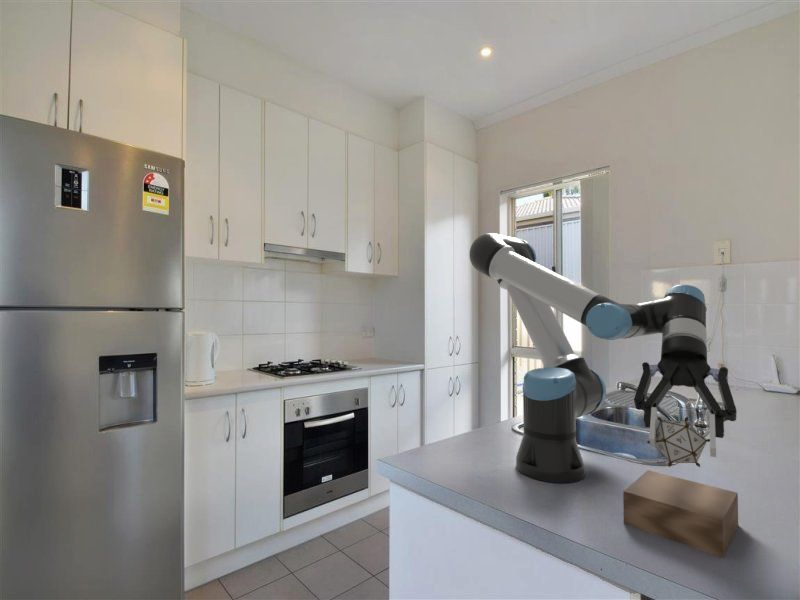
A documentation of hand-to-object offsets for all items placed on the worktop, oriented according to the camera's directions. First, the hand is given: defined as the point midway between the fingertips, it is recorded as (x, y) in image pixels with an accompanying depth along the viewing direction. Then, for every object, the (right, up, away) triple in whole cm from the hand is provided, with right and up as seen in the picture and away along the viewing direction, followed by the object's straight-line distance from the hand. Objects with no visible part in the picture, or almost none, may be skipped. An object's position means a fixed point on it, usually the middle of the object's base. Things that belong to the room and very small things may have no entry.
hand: (681, 447), depth 70 cm
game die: (+2, -4, +3) cm, 5 cm away
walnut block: (+2, -15, +3) cm, 15 cm away
